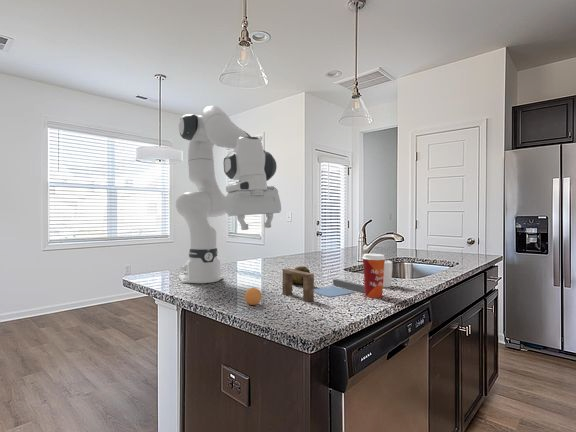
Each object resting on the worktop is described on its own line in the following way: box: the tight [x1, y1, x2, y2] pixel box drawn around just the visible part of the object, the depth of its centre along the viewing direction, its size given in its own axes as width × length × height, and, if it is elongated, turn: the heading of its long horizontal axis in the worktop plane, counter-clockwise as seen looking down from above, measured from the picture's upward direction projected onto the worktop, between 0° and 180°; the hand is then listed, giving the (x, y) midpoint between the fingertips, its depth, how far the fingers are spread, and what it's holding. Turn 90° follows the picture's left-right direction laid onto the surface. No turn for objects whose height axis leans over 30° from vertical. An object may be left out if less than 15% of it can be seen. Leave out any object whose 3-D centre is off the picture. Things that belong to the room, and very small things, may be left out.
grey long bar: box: [332, 278, 365, 294], centre depth 136 cm, size 18×2×2 cm, turn 35°
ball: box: [244, 287, 263, 306], centre depth 111 cm, size 6×6×6 cm
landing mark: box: [314, 285, 357, 298], centre depth 131 cm, size 13×13×1 cm
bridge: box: [282, 268, 315, 303], centre depth 122 cm, size 3×14×9 cm, turn 35°
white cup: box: [383, 260, 394, 288], centre depth 142 cm, size 8×8×10 cm
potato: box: [292, 266, 311, 285], centre depth 144 cm, size 8×13×8 cm, turn 13°
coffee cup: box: [362, 253, 386, 299], centre depth 124 cm, size 8×8×15 cm
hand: (256, 228), depth 110 cm, fingers open, 8 cm apart
